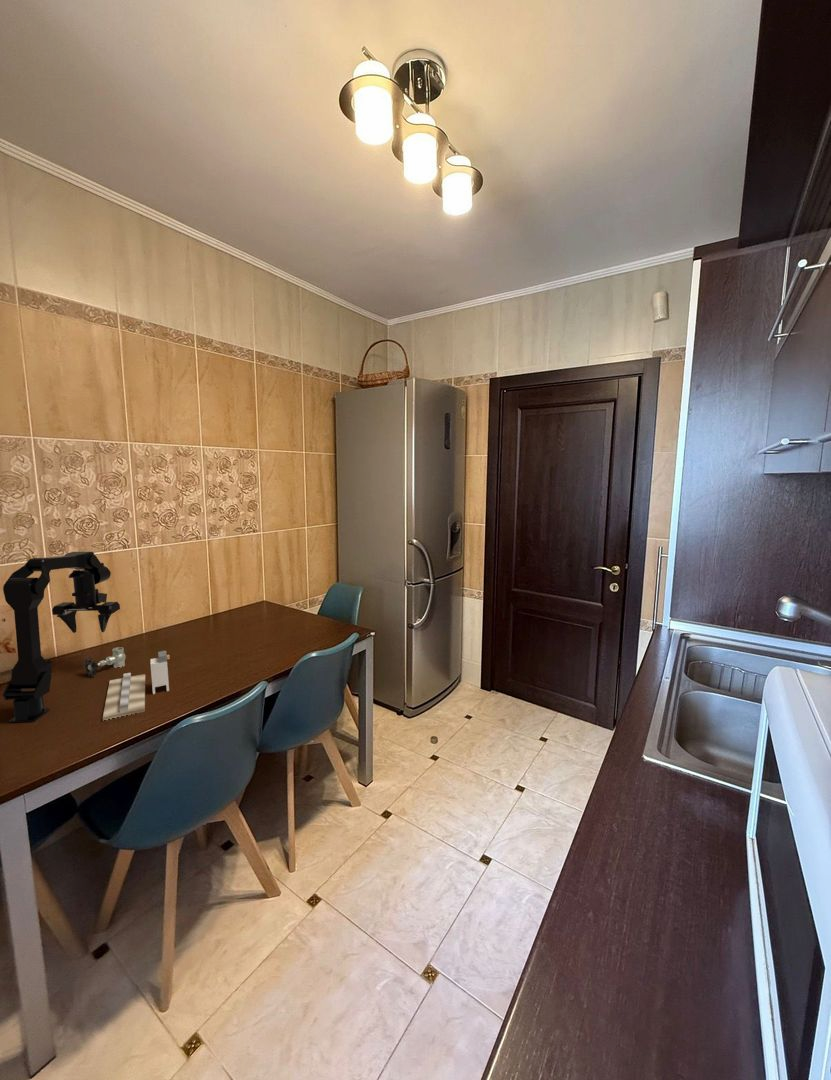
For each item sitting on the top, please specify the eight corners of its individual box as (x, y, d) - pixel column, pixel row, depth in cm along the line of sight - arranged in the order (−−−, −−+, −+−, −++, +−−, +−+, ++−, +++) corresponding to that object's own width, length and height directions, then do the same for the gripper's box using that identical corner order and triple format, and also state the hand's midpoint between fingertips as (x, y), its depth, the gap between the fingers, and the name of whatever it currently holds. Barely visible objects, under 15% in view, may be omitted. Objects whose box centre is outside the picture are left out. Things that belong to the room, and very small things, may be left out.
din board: (144, 711, 129) (144, 702, 128) (103, 721, 124) (102, 711, 123) (145, 676, 151) (144, 668, 150) (110, 683, 146) (109, 675, 145)
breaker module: (172, 690, 142) (169, 654, 140) (152, 694, 139) (150, 658, 137) (171, 684, 145) (168, 650, 144) (152, 688, 143) (150, 653, 141)
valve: (119, 662, 162) (83, 675, 151) (118, 645, 161) (82, 656, 150) (130, 665, 159) (94, 679, 149) (129, 648, 158) (93, 660, 148)
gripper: (127, 582, 158) (130, 623, 160) (71, 582, 156) (75, 624, 158) (108, 590, 147) (112, 635, 149) (48, 590, 145) (53, 635, 147)
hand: (89, 632), depth 151 cm, fingers open, 9 cm apart
